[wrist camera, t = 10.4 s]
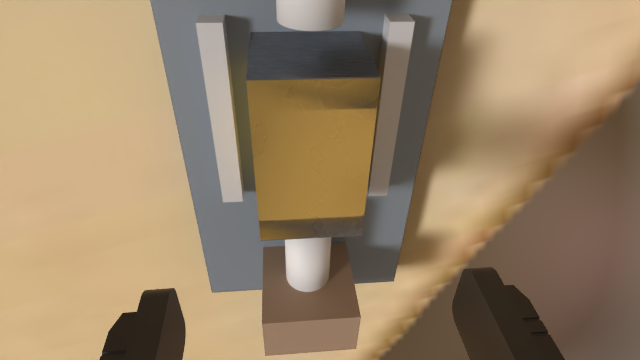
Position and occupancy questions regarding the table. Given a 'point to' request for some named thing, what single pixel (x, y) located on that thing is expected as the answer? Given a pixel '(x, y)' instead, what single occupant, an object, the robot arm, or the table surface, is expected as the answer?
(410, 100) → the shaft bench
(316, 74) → the coupler
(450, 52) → the table surface
